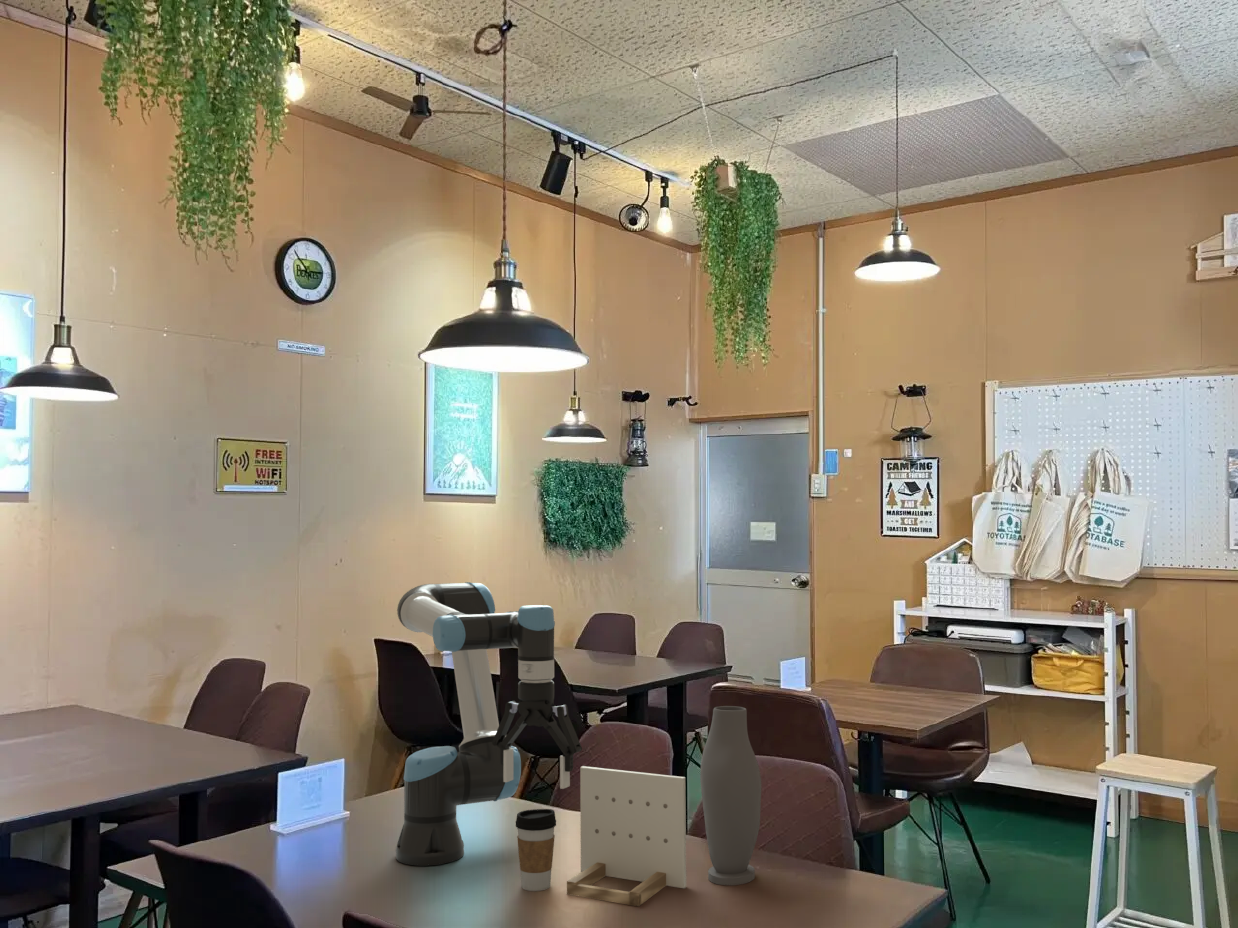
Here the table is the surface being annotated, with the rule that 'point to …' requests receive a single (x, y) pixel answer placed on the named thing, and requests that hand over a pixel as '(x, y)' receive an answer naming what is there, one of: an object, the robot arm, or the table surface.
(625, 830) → the wall board
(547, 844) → the coffee cup
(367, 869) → the table surface
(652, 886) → the wooden tray
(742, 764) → the vase
